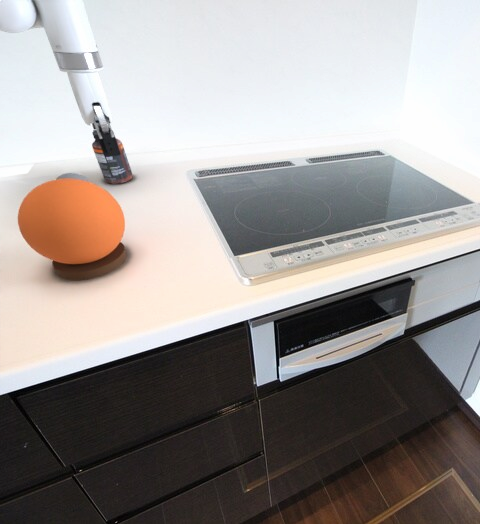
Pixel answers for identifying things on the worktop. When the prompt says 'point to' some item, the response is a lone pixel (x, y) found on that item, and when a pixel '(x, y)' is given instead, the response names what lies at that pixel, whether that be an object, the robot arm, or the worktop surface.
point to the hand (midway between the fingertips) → (109, 150)
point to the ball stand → (74, 227)
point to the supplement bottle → (112, 163)
